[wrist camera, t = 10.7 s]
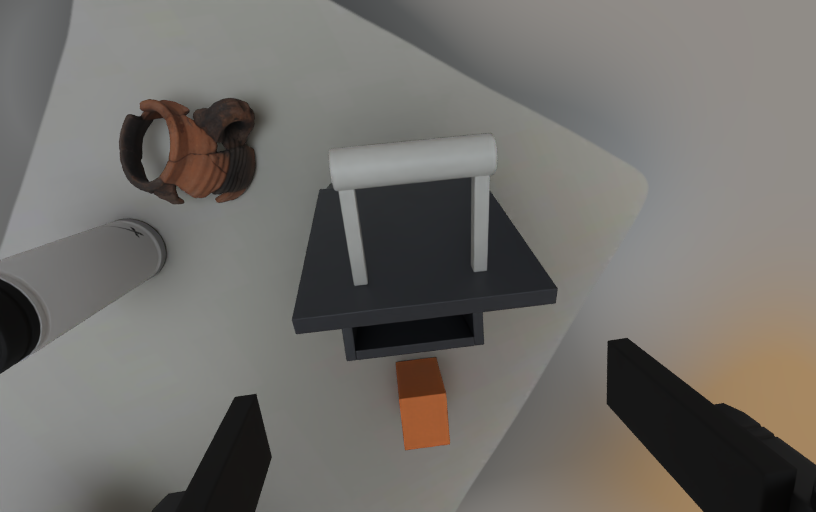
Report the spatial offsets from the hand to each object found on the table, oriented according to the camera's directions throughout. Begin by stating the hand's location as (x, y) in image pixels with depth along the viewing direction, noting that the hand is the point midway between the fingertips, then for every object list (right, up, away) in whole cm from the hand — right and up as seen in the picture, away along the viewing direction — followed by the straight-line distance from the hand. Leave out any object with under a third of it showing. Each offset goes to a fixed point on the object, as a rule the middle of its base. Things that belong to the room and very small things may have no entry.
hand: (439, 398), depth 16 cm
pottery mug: (-20, +16, +24) cm, 35 cm away
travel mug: (-28, +6, +26) cm, 39 cm away
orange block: (0, -9, +33) cm, 34 cm away
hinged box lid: (-1, +6, +11) cm, 13 cm away
